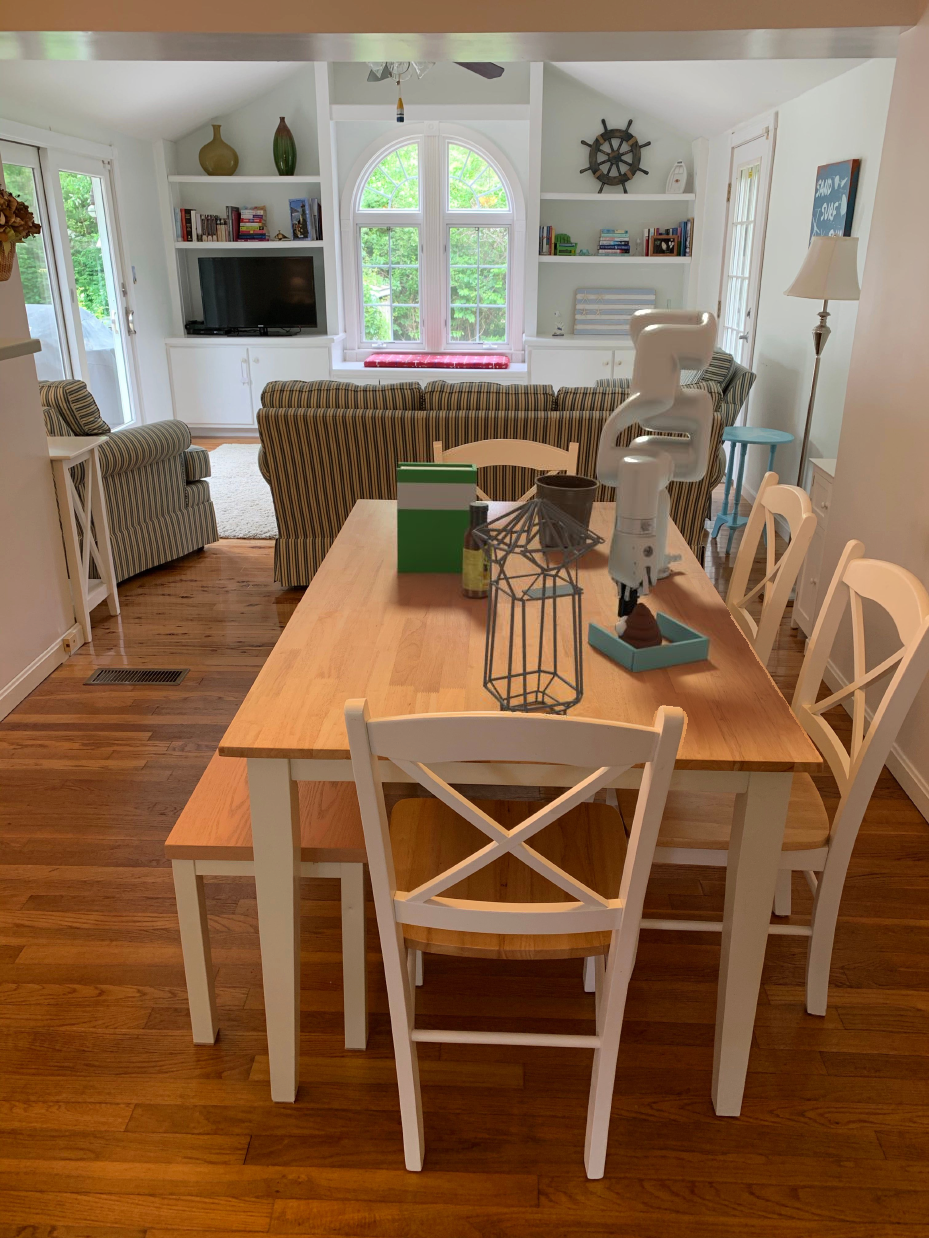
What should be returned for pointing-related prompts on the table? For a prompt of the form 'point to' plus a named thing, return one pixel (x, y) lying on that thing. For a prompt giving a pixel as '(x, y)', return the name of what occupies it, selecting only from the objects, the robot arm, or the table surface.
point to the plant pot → (567, 502)
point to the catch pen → (683, 649)
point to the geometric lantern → (571, 528)
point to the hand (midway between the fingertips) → (626, 617)
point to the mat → (550, 591)
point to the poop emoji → (639, 628)
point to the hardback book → (433, 515)
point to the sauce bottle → (476, 555)
